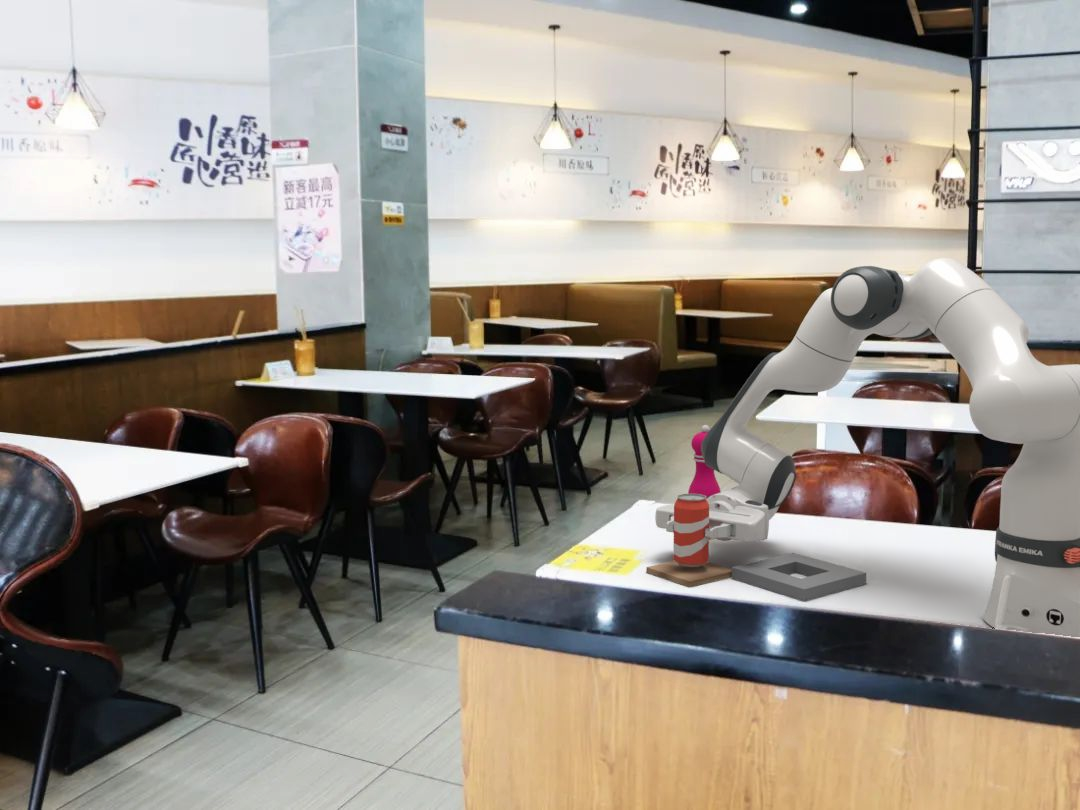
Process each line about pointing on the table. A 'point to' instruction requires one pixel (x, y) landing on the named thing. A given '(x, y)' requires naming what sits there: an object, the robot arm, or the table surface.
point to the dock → (776, 577)
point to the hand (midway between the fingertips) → (688, 530)
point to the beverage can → (691, 530)
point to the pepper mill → (702, 469)
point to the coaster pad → (690, 573)
